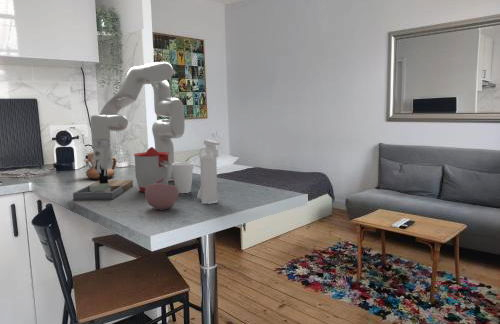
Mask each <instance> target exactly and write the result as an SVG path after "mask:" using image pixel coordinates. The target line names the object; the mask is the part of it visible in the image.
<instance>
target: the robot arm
mask: <svg viewBox="0 0 500 324" xmlns="http://www.w3.org/2000/svg"><path fill="white" fill-rule="evenodd" d="M173 75H174V68H173V66H172V64H171V63H169V62H166V61H160V62H150V63H146V64H144V65H139V66H137V65H136V66H133V67H130V68H129V70H128V72H127V74H126V75H125V77H124V80H123V81H122V84H121V86H120V88H119V90H118V91H117V93H115V95H113V96H112V97H111V98H110V99H109V100H107V102H106V103H105V104H104V105H103V107H102V109H101V111H100V113H99V114H94V115H91V116H90V130H91V132H90V133H91V146H92V148H93V151H92V152H93V161H94V169H95V170H97V173H98V174H99V179H98V181H99V182H100V183H108V180H109V178H108V176H107V175H108V170H109V168H112V166H113V159H112V157H113V156H112V154H113V153H112V154H111V152H112V149H111V132H122V131H124V130H125V129H127V127H128V125H129V121H128V118H127V117H126V116H125V115H124V114H123V115H122V114H119V112H120V111H122V110H123V109H124V108H125V107H128V106H130V105H132V104H133V103H135V102H136V101H137V99H138V97H139V94H140V92H141V90H142V88H143V86H144V85H151V86H152V89H153V105H154V106H153V108H154V113H155V115H156V116H158V117H163V118H162V119H157V120H156V121H154V122H153V124H152V127H151V131H152V136H153V140H154V141H153V142H154V149H155V150H156V151H157V152H167V153H169V163H170V166H169V181H168V182H174V177H173V171H172V163H175V152H174V148H175V147H174V143H173V141H172V139H181V138H182V137H183V135H184V133H185V127H186V125H185V106H184V103H183V102H182V100H181V99H179V98H177V97H172V93H171V87H170V83H169V82H168V80H170V79H171V78H172V77H173ZM164 118H167V119H164ZM168 118H169V119H168Z"/></svg>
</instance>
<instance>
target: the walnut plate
mask: <svg viewBox="0 0 500 324" xmlns="http://www.w3.org/2000/svg"><path fill="white" fill-rule="evenodd" d="M95 183H100V182H99V180H97V181H95V182H93V183H91V184H89V185H87V186H86V187H88V189H90V187H89V186H91V185H93V184H95ZM108 183H109V187H111V189H117V188H119V187H120V186H122V189H123V193H122V194H124V193H125V192H127V191H128V190H129V189H131V188H133V187H134V180H133V179H129V180H127V179H122V180H121V179H120V180H119V179H118V180H117V179H115V180H114V179H113V180H111V179H108Z"/></svg>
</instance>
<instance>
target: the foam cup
mask: <svg viewBox="0 0 500 324" xmlns="http://www.w3.org/2000/svg"><path fill="white" fill-rule="evenodd" d="M172 171H173V177H174V180H173V182H174V186H175V187H177V188H178V193H188V192H190V191H191V190H192V182H193V174H194V162H187V161H186V162H185V161H184V162H183V161H181V162H180V161H179V162H174V163H172ZM190 193H191V192H190ZM188 194H189V193H188Z"/></svg>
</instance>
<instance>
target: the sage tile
mask: <svg viewBox="0 0 500 324" xmlns="http://www.w3.org/2000/svg"><path fill="white" fill-rule="evenodd" d="M94 183H95V182H94ZM92 184H93V183H92ZM90 185H91V184H90ZM88 186H89V185H88ZM89 187H90V191H104V190H106V189H108V188H109V183H95V184H93V185H91V186H89Z"/></svg>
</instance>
